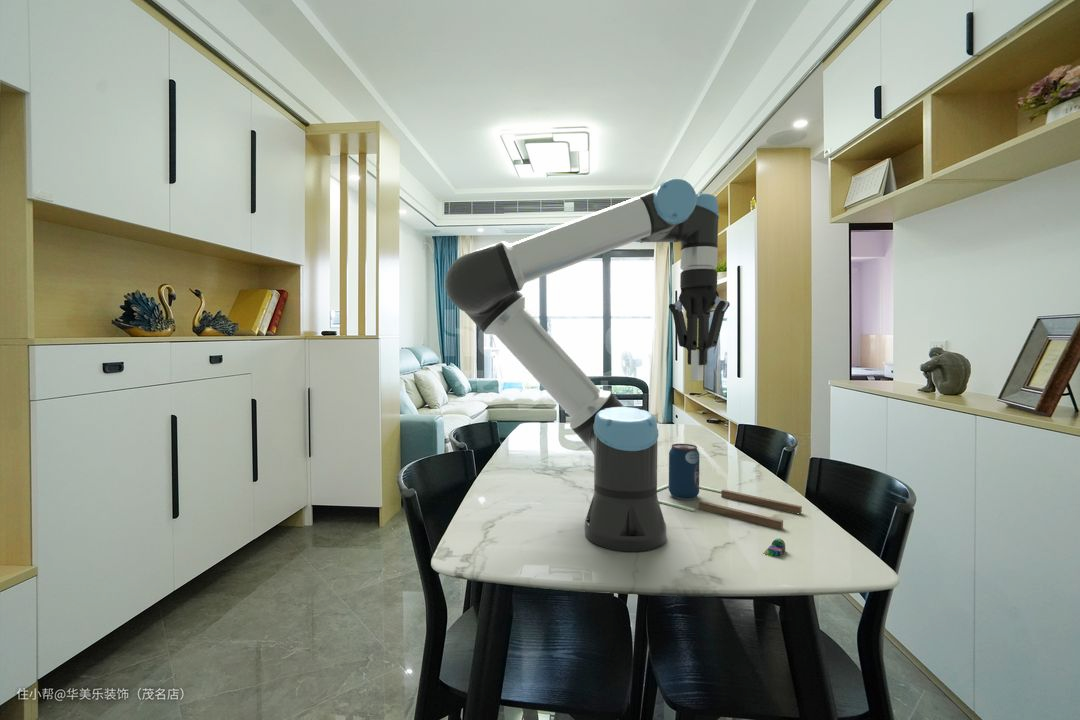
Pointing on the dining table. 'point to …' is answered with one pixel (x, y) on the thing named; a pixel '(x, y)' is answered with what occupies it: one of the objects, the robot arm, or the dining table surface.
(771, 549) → the multicolored toy figure
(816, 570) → the dining table surface
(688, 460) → the soda can
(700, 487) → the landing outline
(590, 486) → the dining table surface
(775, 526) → the walnut rails
